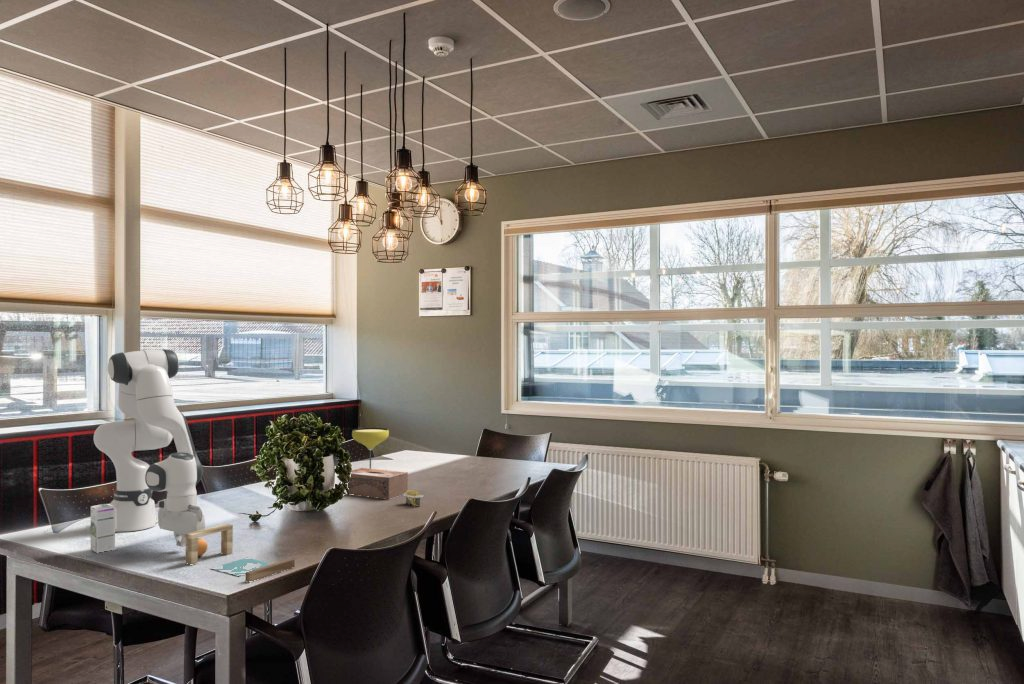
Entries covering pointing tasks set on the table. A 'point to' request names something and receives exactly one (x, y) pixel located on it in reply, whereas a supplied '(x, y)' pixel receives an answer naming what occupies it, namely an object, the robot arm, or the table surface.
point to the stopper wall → (270, 569)
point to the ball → (202, 546)
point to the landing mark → (242, 563)
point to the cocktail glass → (370, 437)
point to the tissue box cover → (378, 483)
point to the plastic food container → (412, 497)
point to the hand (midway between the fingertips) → (181, 546)
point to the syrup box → (102, 528)
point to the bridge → (193, 536)
